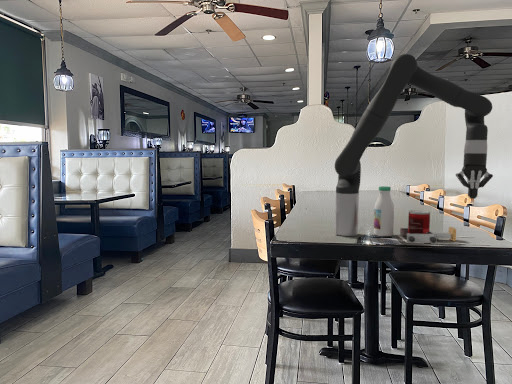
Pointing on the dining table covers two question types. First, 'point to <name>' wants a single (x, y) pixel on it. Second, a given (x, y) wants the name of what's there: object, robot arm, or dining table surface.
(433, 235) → the trolley
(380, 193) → the milk bottle
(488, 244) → the track
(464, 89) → the robot arm
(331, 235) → the dining table surface
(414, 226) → the canned food
